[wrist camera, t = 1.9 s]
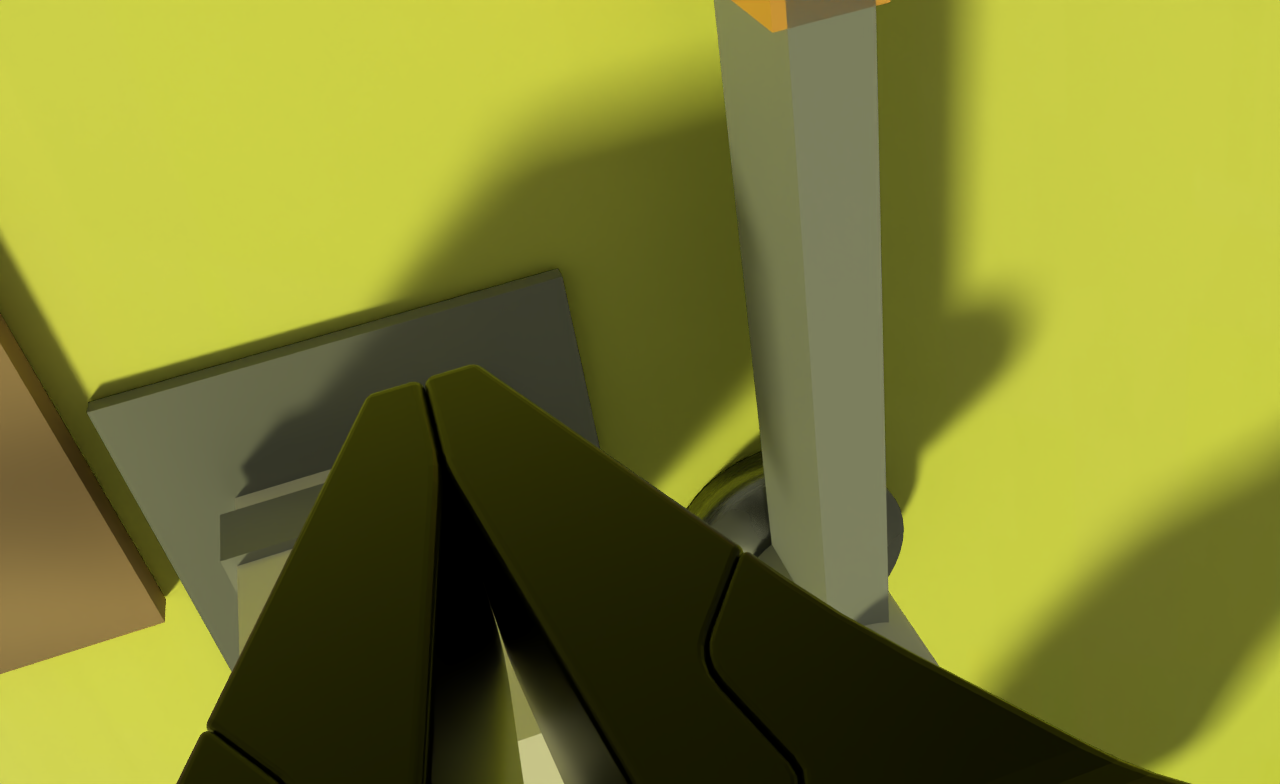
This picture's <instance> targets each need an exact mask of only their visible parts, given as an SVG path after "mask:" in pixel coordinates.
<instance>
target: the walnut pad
mask: <svg viewBox="0 0 1280 784" xmlns="http://www.w3.org/2000/svg"><path fill="white" fill-rule="evenodd" d="M165 605H166V599H165V597H164V595H163V594H162V592H161V590H160V588H159V587H158V585H157V583H156V582H155V580H154V578H153V576H152V575H151V573H150V571H149V569H148V568H147V566H146V564H145V563H144V561H143V559H142V557H141V556H140V554H139V552H138V550H137V549H136V547H135V545H134V544H133V542H132V540H131V538H130V537H129V535H128V533H127V531H126V530H125V528H124V526H123V525H122V523H121V521H120V519H119V518H118V516H117V514H116V512H115V511H114V509H113V507H112V506H111V504H110V502H109V500H108V499H107V497H106V495H105V493H104V492H103V490H102V488H101V487H100V485H99V483H98V481H97V480H96V478H95V476H94V474H93V473H92V471H91V469H90V468H89V466H88V464H87V462H86V461H85V459H84V457H83V455H82V454H81V452H80V450H79V449H78V447H77V445H76V443H75V442H74V440H73V438H72V436H71V435H70V433H69V431H68V430H67V428H66V426H65V424H64V423H63V421H62V419H61V417H60V416H59V414H58V412H57V411H56V409H55V407H54V405H53V404H52V402H51V400H50V398H49V397H48V395H47V393H46V392H45V390H44V388H43V386H42V385H41V383H40V381H39V379H38V378H37V376H36V374H35V373H34V371H33V369H32V367H31V366H30V364H29V362H28V360H27V359H26V357H25V355H24V354H23V352H22V350H21V348H20V347H19V345H18V343H17V341H16V340H15V338H14V336H13V335H12V333H11V331H10V329H9V328H8V326H7V324H6V322H5V321H4V319H3V317H2V316H1V314H0V674H2V673H5V672H8V671H11V670H15V669H18V668H21V667H24V666H27V665H30V664H34V663H37V662H40V661H43V660H46V659H49V658H52V657H56V656H59V655H62V654H65V653H68V652H71V651H75V650H78V649H81V648H84V647H87V646H90V645H94V644H97V643H100V642H103V641H106V640H109V639H113V638H116V637H119V636H122V635H125V634H128V633H131V632H135V631H138V630H141V629H144V628H147V627H150V626H154V625H157V624H160V623H163V622H165Z"/></svg>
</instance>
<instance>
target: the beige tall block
mask: <svg viewBox="0 0 1280 784" xmlns="http://www.w3.org/2000/svg"><path fill="white" fill-rule="evenodd" d="M330 471H331V469H329V470H326V471H323V472H319V473H316V474H313V475H310V476H306V477H303V478H300V479H296V480H293V481H290V482H286V483H283V484H280V485H277V486H273V487H270V488H267V489H263V490H260V491H257V492H253V493H250V494H247V495H244V496H240V497H237V498H235V508H236V510H234V511H231V512H228V513H224V514H221V515H220V562H221V564H222V566H223V568H224V569H225V571H226V573H227V575H228V577H229V579H230V581H231V583H232V585H233V587H234V589H235V591H236V592H237V594H238V622H239V656H240V654H241V652H242V650H243V648H244V646H245V644H246V642H247V640H248V638H249V636H250V634H251V632H252V630H253V628H254V626H255V624H256V622H257V620H258V618H259V615H260V613H261V611H262V609H263V607H264V605H265V603H266V601H267V599H268V597H269V595H270V593H271V591H272V589H273V587H274V585H275V583H276V581H277V579H278V577H279V575H280V573H281V571H282V569H283V566H284V564H285V562H286V560H287V558H288V556H289V554H290V552H291V550H292V548H293V546H294V544H295V542H296V540H297V538H298V536H299V534H300V532H301V530H302V528H303V526H304V524H305V522H306V520H307V518H308V515H309V513H310V511H311V509H312V507H313V505H314V503H315V501H316V499H317V497H318V495H319V493H320V491H321V489H322V487H323V485H324V483H325V481H326V479H327V477H328V475H329V473H330ZM493 614H494V613H493ZM494 617H495V616H494ZM495 621H496V619H495ZM496 624H497V622H496ZM497 628H498V625H497ZM498 632H499V636H500V640H501V644H502V648H503V652H504V656H505V662H506V668H507V673H508V679H509V685H510V692H511V699H512V706H513V713H514V719H515V726H516V733H517V740H518V747H519V754H520V761H521V768H522V775H523V782H524V784H564V782H563V780H562V778H561V776H560V773H559V771H558V769H557V767H556V765H555V762H554V760H553V758H552V756H551V753H550V751H549V749H548V747H547V744H546V742H545V740H544V738H543V735H542V733H541V731H540V729H539V727H538V724H537V722H536V720H535V718H534V715H533V713H532V711H531V709H530V706H529V704H528V702H527V700H526V697H525V695H524V693H523V691H522V689H521V686H520V684H519V682H518V680H517V677H516V675H515V672H514V670H513V667H512V665H511V662H510V660H509V657H508V655H507V652H506V649H505V646H504V643H503V640H502V637H501V634H500V631H499V628H498Z"/></svg>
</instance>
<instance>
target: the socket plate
mask: <svg viewBox="0 0 1280 784" xmlns="http://www.w3.org/2000/svg"><path fill="white" fill-rule="evenodd" d="M472 364H474V365H479V366H481V367H482V368H484V369H485V370H486V371H488V372H489V373H491V374H492V375H494V376H495V377H497V378H498V379H499V380H501V381H502V382H504V383H505V384H507V385H508V386H510V387H511V388H512V389H514V390H515V391H517V392H518V393H520V394H521V395H523V396H524V397H525V398H527V399H528V400H530V401H531V402H533V403H534V404H536V405H537V406H538V407H540V408H541V409H543V410H544V411H546V412H547V413H549V414H550V415H551V416H553V417H554V418H556V419H557V420H559V421H560V422H562V423H563V424H564V425H566V426H567V427H569V428H570V429H572V430H573V431H575V432H576V433H577V434H579V435H580V436H582V437H583V438H585V439H586V440H588V441H589V442H590V443H592V444H593V445H595V446H596V447H598V448H599V449H600V447H599V442H598V438H597V433H596V429H595V424H594V420H593V415H592V410H591V406H590V401H589V397H588V392H587V387H586V383H585V378H584V374H583V369H582V365H581V360H580V355H579V351H578V346H577V342H576V337H575V333H574V328H573V323H572V319H571V314H570V310H569V305H568V300H567V296H566V291H565V287H564V282H563V278H562V275H561V273H560V271H559V269H554V270H551V271H547V272H544V273H540V274H537V275H533V276H530V277H526V278H523V279H519V280H516V281H512V282H509V283H505V284H502V285H498V286H495V287H491V288H488V289H484V290H481V291H477V292H474V293H470V294H467V295H463V296H460V297H456V298H453V299H449V300H446V301H442V302H439V303H435V304H432V305H428V306H425V307H421V308H418V309H414V310H411V311H407V312H404V313H400V314H397V315H393V316H390V317H386V318H383V319H379V320H376V321H372V322H369V323H365V324H362V325H358V326H355V327H351V328H348V329H344V330H341V331H337V332H334V333H330V334H327V335H323V336H319V337H316V338H312V339H309V340H305V341H302V342H298V343H295V344H291V345H288V346H284V347H281V348H277V349H274V350H270V351H267V352H263V353H260V354H256V355H253V356H249V357H246V358H242V359H239V360H235V361H232V362H228V363H225V364H221V365H218V366H214V367H211V368H207V369H204V370H200V371H197V372H193V373H190V374H186V375H183V376H179V377H176V378H172V379H169V380H165V381H162V382H158V383H155V384H151V385H148V386H144V387H141V388H137V389H134V390H130V391H127V392H123V393H120V394H116V395H113V396H109V397H106V398H102V399H99V400H95V401H92V402H88V408H87V414H88V416H89V418H90V419H91V421H92V423H93V425H94V427H95V428H96V430H97V432H98V434H99V435H100V437H101V439H102V441H103V443H104V444H105V446H106V448H107V450H108V452H109V453H110V455H111V457H112V459H113V461H114V462H115V464H116V466H117V468H118V469H119V471H120V473H121V475H122V477H123V478H124V480H125V482H126V484H127V486H128V487H129V489H130V491H131V493H132V494H133V496H134V498H135V500H136V502H137V503H138V505H139V507H140V509H141V511H142V512H143V514H144V516H145V518H146V519H147V521H148V523H149V525H150V527H151V528H152V530H153V532H154V534H155V536H156V537H157V539H158V541H159V543H160V545H161V546H162V548H163V550H164V552H165V553H166V555H167V557H168V559H169V561H170V562H171V564H172V566H173V568H174V570H175V571H176V573H177V575H178V577H179V578H180V580H181V582H182V584H183V586H184V587H185V589H186V591H187V593H188V595H189V596H190V598H191V600H192V602H193V604H194V605H195V607H196V609H197V611H198V612H199V614H200V616H201V618H202V620H203V621H204V623H205V625H206V627H207V629H208V630H209V632H210V634H211V636H212V637H213V639H214V641H215V643H216V645H217V646H218V648H219V650H220V652H221V654H222V655H223V657H224V659H225V661H226V662H227V664H228V666H229V668H230V670H231V671H233V669H234V666H235V664H236V662H237V660H238V658H239V622H238V594H237V592H236V591H235V589H234V587H233V585H232V583H231V581H230V579H229V577H228V575H227V573H226V571H225V569H224V568H223V566H222V564H221V562H220V515H221V514H224V513H228V512H231V511H234V510H236V508H235V498H237V497H240V496H244V495H247V494H250V493H253V492H257V491H260V490H263V489H267V488H270V487H273V486H277V485H280V484H283V483H286V482H290V481H293V480H296V479H300V478H303V477H306V476H310V475H313V474H316V473H319V472H323V471H326V470H329V469H332V466H333V464H334V462H335V460H336V458H337V456H338V454H339V452H340V450H341V448H342V446H343V444H344V442H345V440H346V438H347V436H348V434H349V432H350V430H351V428H352V426H353V424H354V422H355V420H356V418H357V415H358V413H359V411H360V409H361V407H362V405H363V403H364V401H365V400H366V398H367V397H368V396H369V395H371V394H373V393H376V392H379V391H383V390H386V389H390V388H393V387H396V386H400V385H403V384H407V383H410V382H418V383H420V384H422V385H423V386H424V388H425V384H426V381H427V380H428V379H429V378H430V377H431V376H434V375H437V374H440V373H444V372H447V371H450V370H454V369H457V368H460V367H464V366H467V365H472ZM425 391H426V390H425Z"/></svg>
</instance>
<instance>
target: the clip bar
mask: <svg viewBox="0 0 1280 784" xmlns="http://www.w3.org/2000/svg"><path fill="white" fill-rule="evenodd" d="M889 2H890V0H714V6H715V16H716V25H717V34H718V44H719V53H720V63H721V72H722V81H723V91H724V100H725V110H726V119H727V128H728V138H729V147H730V156H731V166H732V175H733V185H734V194H735V203H736V213H737V222H738V232H739V241H740V250H741V260H742V269H743V278H744V288H745V297H746V307H747V316H748V325H749V335H750V344H751V354H752V363H753V372H754V382H755V391H756V400H757V410H758V419H759V429H760V438H761V447H762V457H763V466H764V476H765V485H766V494H767V504H768V513H769V522H770V532H771V541H772V545H771V546H769V547H768V548H767V549H766V550H765V551H764V552H763V553H762V554H761V555H760V556H759V557H758V558H759V559H760V560H762V561H763V562H765V563H766V564H767V565H769V566H770V567H772V568H773V569H774V570H776V571H777V572H779V573H780V574H782V575H783V576H785V577H786V578H788V579H789V580H791V581H792V582H794V583H795V584H797V585H799V586H800V587H802V588H803V589H805V590H806V591H808V592H809V593H811V594H813V595H814V596H816V597H817V598H819V599H820V600H822V601H823V602H825V603H827V604H828V605H830V606H831V607H833V608H834V609H836V610H837V611H839V612H841V613H842V614H844V615H846V616H848V617H849V618H851V619H853V620H855V621H857V622H858V623H860V624H862V625H864V626H866V627H867V628H869V629H871V630H873V631H875V632H876V633H878V634H880V635H882V636H884V637H885V638H887V639H889V640H891V641H892V642H894V643H896V644H898V645H900V646H901V647H903V648H905V649H907V650H909V651H911V652H912V653H914V654H916V655H918V656H920V657H922V658H924V659H926V660H928V661H930V662H932V663H933V664H935V665H937V666H939V665H938V664H937V662H936V661H935V659H934V658H933V656H932V655H931V654H930V652H929V651H928V649H927V648H926V646H925V645H924V643H923V642H922V640H921V639H920V637H919V636H918V634H917V633H916V631H915V630H914V628H913V627H912V625H911V624H910V622H909V621H908V619H907V618H906V616H905V615H904V614H903V612H902V611H901V609H900V608H899V606H898V605H897V603H896V602H895V600H894V599H893V597H892V596H891V594H890V593H889V591H888V556H887V509H886V462H885V414H884V367H883V319H882V272H881V224H880V177H879V129H878V82H877V34H876V6H877V5H881V4H885V3H889Z"/></svg>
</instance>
